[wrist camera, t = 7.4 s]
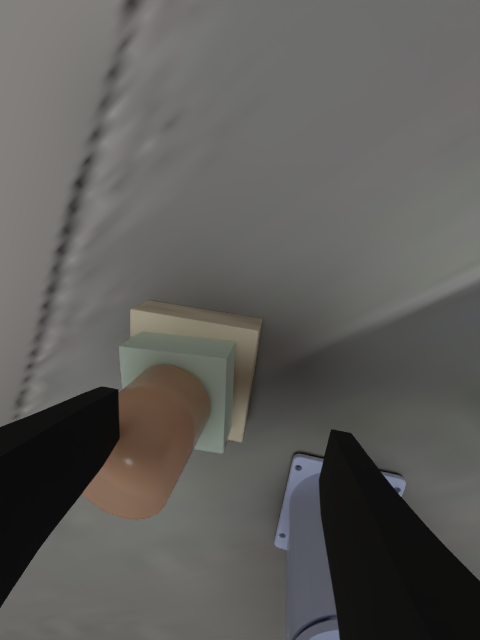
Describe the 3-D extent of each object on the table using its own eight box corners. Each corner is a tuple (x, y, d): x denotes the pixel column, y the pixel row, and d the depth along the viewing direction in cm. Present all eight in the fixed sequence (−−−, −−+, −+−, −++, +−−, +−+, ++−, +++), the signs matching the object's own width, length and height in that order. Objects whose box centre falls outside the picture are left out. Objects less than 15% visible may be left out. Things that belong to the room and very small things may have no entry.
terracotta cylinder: (198, 448, 16) (154, 536, 12) (127, 416, 17) (59, 488, 12) (221, 385, 15) (181, 458, 10) (142, 351, 15) (69, 406, 11)
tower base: (247, 415, 22) (241, 442, 19) (149, 395, 23) (129, 418, 20) (263, 316, 19) (258, 330, 17) (152, 298, 20) (130, 309, 18)
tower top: (231, 426, 19) (223, 453, 16) (146, 413, 20) (126, 438, 17) (235, 341, 17) (226, 358, 15) (141, 331, 18) (118, 346, 15)
